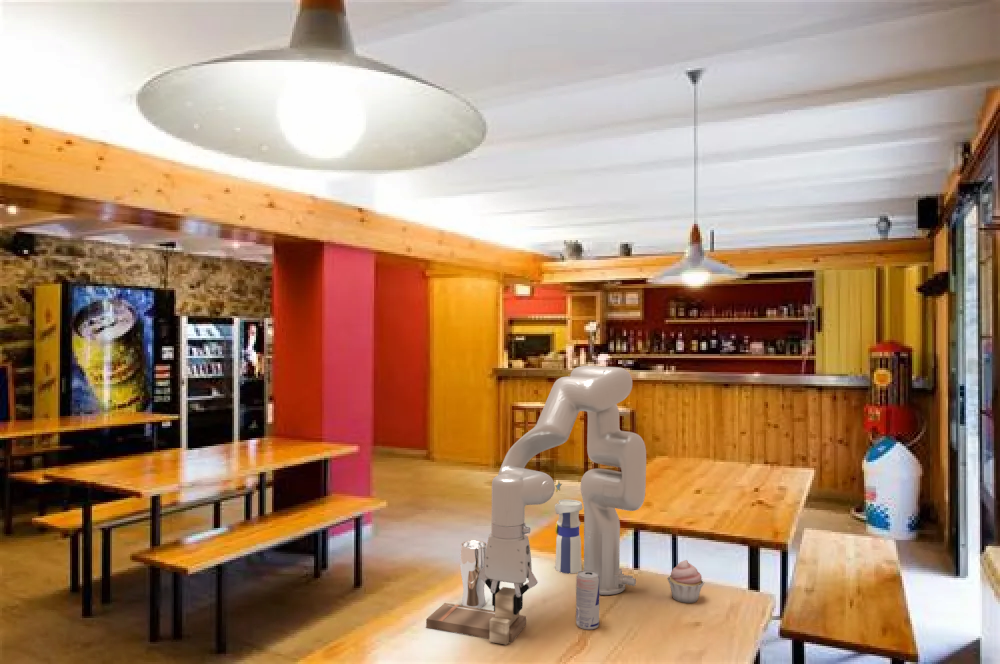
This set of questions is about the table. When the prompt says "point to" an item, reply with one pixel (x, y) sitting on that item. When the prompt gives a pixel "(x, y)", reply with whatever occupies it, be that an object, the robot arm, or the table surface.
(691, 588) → the cupcake
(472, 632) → the board
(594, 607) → the energy drink
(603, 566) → the robot arm
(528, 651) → the table surface
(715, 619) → the table surface
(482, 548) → the beer glass
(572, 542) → the water bottle
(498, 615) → the stacked wooden blocks
